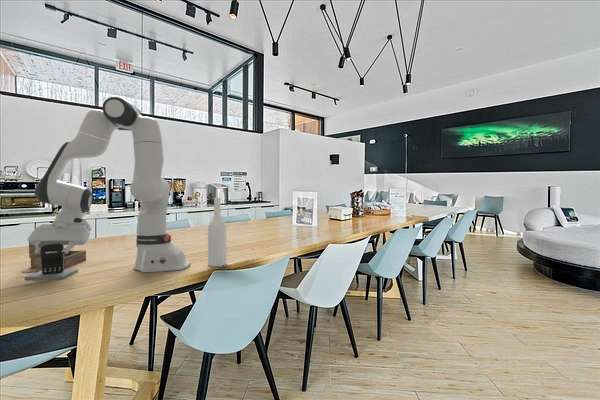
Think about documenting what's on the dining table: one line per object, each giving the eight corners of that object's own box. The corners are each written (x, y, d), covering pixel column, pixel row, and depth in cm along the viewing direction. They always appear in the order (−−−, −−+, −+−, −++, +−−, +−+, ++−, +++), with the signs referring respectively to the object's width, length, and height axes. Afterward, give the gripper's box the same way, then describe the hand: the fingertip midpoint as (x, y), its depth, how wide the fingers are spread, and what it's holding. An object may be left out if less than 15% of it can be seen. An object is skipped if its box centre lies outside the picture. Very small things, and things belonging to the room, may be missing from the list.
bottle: (212, 267, 134) (212, 198, 133) (204, 264, 140) (204, 197, 139) (229, 264, 139) (229, 197, 138) (221, 261, 145) (221, 197, 144)
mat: (78, 271, 125) (77, 269, 125) (62, 278, 116) (62, 276, 116) (42, 272, 124) (42, 270, 124) (24, 279, 114) (24, 277, 114)
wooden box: (86, 259, 145) (85, 233, 144) (57, 271, 125) (57, 240, 124) (54, 260, 143) (53, 233, 143) (20, 272, 123) (19, 241, 123)
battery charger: (39, 275, 116) (38, 245, 115) (42, 272, 120) (41, 243, 119) (63, 273, 120) (62, 244, 119) (64, 270, 123) (64, 242, 122)
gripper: (34, 219, 125) (16, 248, 115) (89, 219, 127) (75, 248, 118) (42, 229, 129) (25, 258, 120) (95, 229, 132) (82, 257, 122)
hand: (50, 253), depth 119 cm, fingers open, 8 cm apart
